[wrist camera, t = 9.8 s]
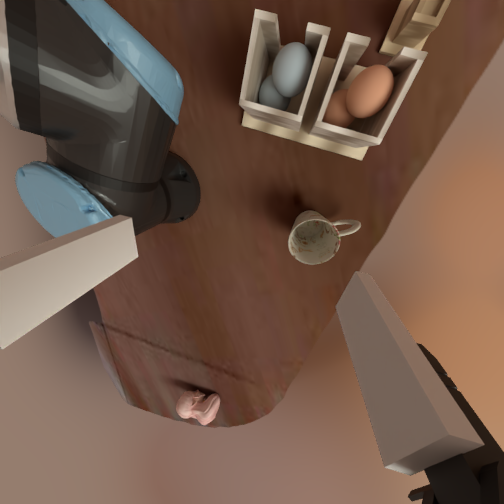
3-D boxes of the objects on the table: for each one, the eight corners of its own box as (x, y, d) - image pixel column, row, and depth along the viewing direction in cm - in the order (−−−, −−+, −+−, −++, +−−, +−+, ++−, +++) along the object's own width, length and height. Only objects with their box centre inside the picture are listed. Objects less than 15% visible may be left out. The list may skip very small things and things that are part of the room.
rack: (242, 125, 33) (223, 113, 24) (258, 41, 28) (241, -17, 19) (360, 160, 32) (387, 161, 23) (400, 79, 27) (458, 37, 17)
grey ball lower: (260, 114, 32) (251, 109, 28) (268, 76, 29) (259, 64, 25) (287, 121, 31) (282, 117, 27) (298, 83, 28) (294, 72, 24)
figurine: (222, 385, 83) (181, 382, 79) (220, 418, 73) (173, 417, 70) (217, 396, 89) (179, 393, 85) (215, 428, 79) (171, 427, 75)
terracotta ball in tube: (317, 128, 31) (315, 124, 27) (330, 91, 29) (330, 80, 24) (346, 136, 30) (349, 133, 26) (363, 98, 28) (369, 88, 23)
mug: (284, 211, 39) (282, 226, 30) (349, 192, 35) (367, 204, 26) (294, 245, 42) (294, 268, 33) (354, 232, 38) (372, 254, 29)
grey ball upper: (262, 94, 25) (275, 70, 21) (273, 53, 24) (289, 18, 20) (293, 111, 27) (312, 91, 22) (304, 73, 26) (326, 44, 21)
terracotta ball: (335, 110, 23) (380, 89, 19) (343, 70, 23) (391, 40, 19) (352, 131, 26) (394, 116, 22) (359, 96, 26) (403, 75, 22)
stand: (378, 53, 26) (397, 30, 21) (401, 0, 24) (427, -39, 19) (413, 61, 26) (439, 40, 21) (439, 9, 23) (476, -28, 19)
